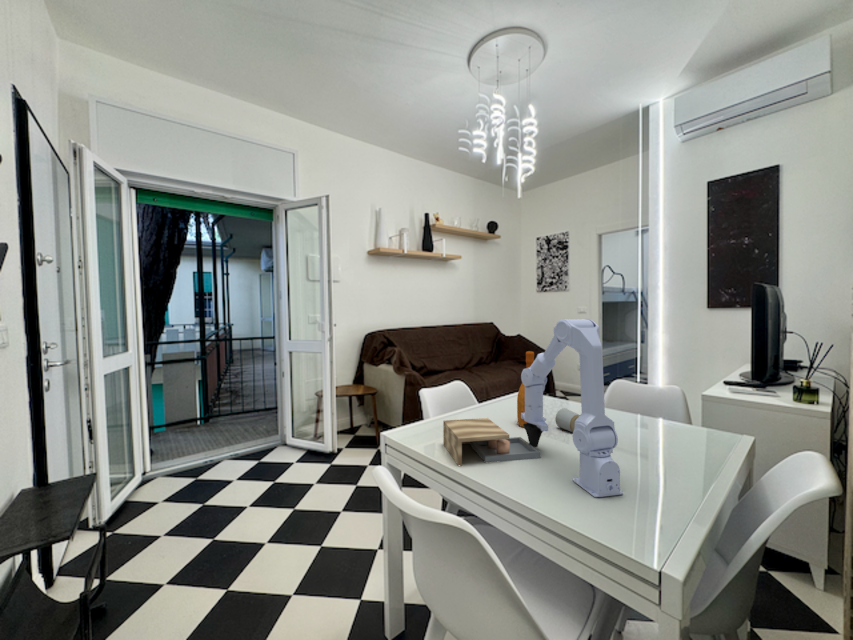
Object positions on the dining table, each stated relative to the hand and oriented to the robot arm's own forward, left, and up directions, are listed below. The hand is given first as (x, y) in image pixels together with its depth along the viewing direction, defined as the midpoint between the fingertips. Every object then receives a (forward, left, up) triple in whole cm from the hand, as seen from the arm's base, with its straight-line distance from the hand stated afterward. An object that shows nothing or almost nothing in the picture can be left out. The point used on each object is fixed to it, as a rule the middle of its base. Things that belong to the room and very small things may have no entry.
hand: (533, 446), depth 117 cm
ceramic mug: (+16, -25, -2) cm, 30 cm away
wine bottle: (+24, -11, -1) cm, 26 cm away
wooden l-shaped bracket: (+2, +20, -1) cm, 20 cm away
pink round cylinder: (-3, +12, -1) cm, 13 cm away
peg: (+4, +12, -1) cm, 13 cm away
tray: (0, +10, -2) cm, 10 cm away
